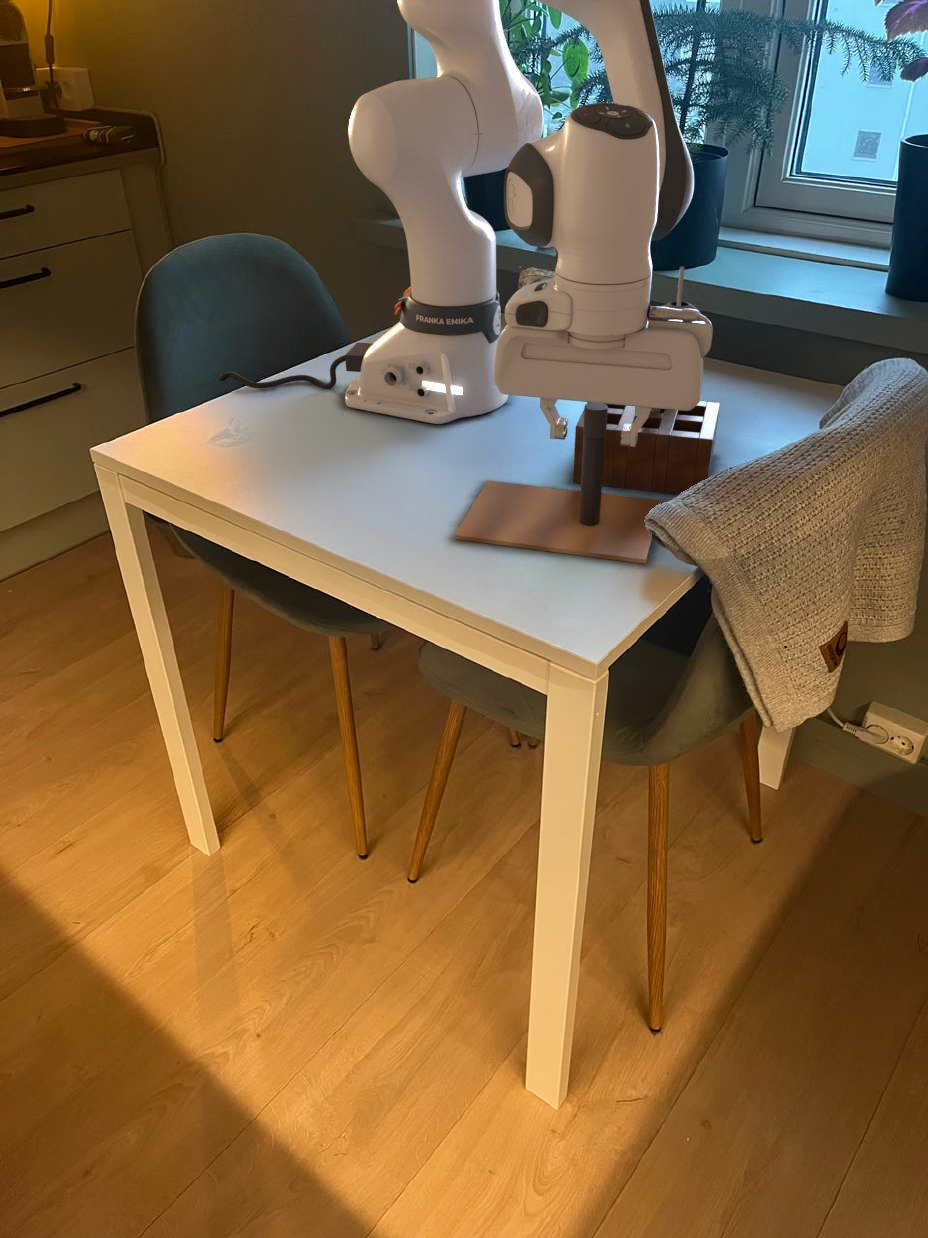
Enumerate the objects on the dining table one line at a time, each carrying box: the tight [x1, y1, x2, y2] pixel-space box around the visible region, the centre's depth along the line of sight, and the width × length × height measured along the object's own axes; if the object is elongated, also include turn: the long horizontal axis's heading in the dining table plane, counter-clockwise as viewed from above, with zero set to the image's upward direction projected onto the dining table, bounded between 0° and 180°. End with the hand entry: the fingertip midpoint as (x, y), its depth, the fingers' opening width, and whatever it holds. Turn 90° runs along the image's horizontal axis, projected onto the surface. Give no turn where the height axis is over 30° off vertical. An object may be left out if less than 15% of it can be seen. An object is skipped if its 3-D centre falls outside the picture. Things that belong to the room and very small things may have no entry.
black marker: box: [579, 402, 608, 526], centre depth 99 cm, size 2×2×13 cm
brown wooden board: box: [454, 480, 663, 565], centre depth 103 cm, size 20×13×1 cm, turn 73°
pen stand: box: [572, 400, 721, 495], centre depth 111 cm, size 15×10×7 cm
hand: (593, 440), depth 97 cm, fingers open, 6 cm apart
